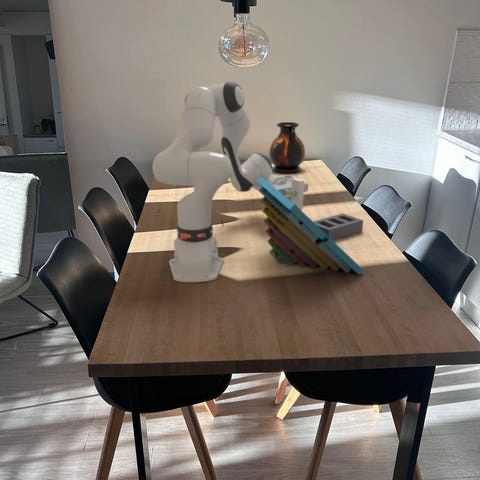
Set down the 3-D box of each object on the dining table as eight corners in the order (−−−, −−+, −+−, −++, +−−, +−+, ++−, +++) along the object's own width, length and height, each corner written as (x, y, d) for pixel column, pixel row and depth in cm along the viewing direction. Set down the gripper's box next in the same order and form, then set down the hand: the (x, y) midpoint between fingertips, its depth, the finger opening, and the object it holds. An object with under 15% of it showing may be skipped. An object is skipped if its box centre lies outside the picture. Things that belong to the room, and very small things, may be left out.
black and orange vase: (263, 168, 304) (264, 122, 294) (296, 165, 310) (297, 120, 300) (276, 176, 285) (277, 127, 275) (310, 173, 291) (312, 125, 281)
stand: (362, 231, 198) (363, 220, 196) (328, 242, 188) (329, 230, 186) (342, 224, 206) (342, 213, 205) (308, 234, 196) (309, 222, 195)
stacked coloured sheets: (290, 266, 194) (228, 212, 179) (321, 233, 192) (260, 176, 178) (326, 308, 163) (254, 247, 148) (363, 270, 161) (294, 204, 146)
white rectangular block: (302, 209, 197) (303, 180, 193) (299, 210, 196) (300, 181, 192) (294, 206, 201) (295, 178, 197) (290, 207, 200) (291, 178, 196)
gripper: (256, 182, 199) (278, 189, 189) (295, 175, 210) (317, 181, 200) (256, 197, 202) (278, 205, 191) (294, 189, 213) (316, 196, 202)
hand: (298, 193), depth 196 cm, fingers closed on white rectangular block, 2 cm apart
